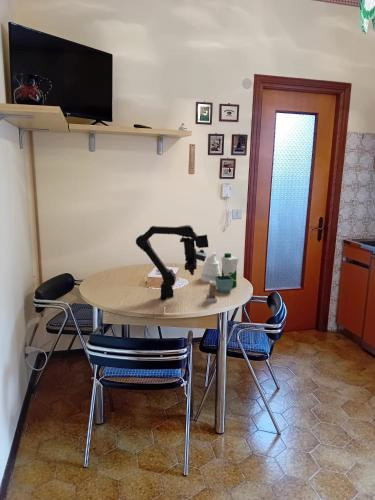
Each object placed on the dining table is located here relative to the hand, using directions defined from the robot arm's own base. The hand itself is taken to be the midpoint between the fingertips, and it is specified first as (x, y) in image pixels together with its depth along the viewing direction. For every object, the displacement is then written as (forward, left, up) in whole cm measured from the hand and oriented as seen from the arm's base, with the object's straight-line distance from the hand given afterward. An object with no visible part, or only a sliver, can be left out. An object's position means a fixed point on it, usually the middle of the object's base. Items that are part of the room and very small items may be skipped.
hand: (192, 274), depth 209 cm
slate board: (+4, -6, -13) cm, 15 cm away
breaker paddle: (+11, -7, -12) cm, 17 cm away
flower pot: (+19, +10, -13) cm, 25 cm away
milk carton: (+24, +24, -13) cm, 36 cm away
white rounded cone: (+14, +38, -13) cm, 42 cm away
